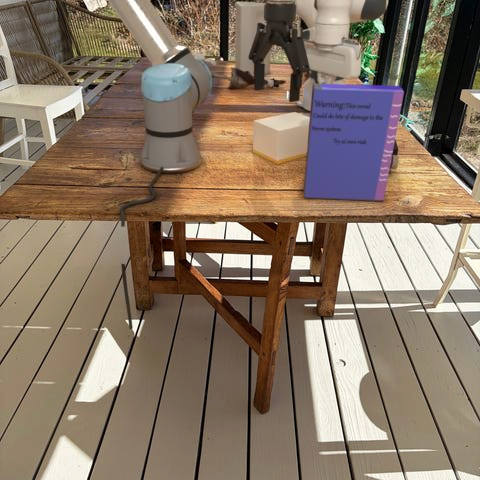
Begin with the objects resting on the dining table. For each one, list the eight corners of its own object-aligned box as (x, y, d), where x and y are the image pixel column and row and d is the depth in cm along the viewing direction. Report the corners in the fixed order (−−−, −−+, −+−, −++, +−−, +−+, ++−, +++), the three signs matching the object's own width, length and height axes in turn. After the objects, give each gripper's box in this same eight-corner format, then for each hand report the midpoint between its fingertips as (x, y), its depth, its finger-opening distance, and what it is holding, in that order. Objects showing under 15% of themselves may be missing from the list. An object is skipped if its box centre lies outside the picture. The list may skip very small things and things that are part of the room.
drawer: (316, 133, 142) (318, 110, 138) (338, 142, 136) (341, 118, 132) (266, 146, 132) (267, 121, 129) (288, 156, 126) (290, 130, 122)
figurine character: (396, 183, 117) (389, 155, 129) (402, 156, 112) (395, 129, 124) (368, 182, 118) (364, 154, 129) (373, 154, 113) (368, 127, 125)
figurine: (210, 87, 179) (288, 95, 182) (212, 65, 176) (291, 73, 180) (208, 84, 201) (278, 91, 205) (210, 64, 198) (280, 71, 202)
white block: (273, 76, 210) (276, 6, 196) (239, 77, 209) (240, 6, 194) (266, 67, 226) (268, 2, 212) (235, 67, 225) (235, 1, 210)
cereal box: (379, 191, 109) (398, 84, 97) (383, 201, 105) (404, 90, 93) (303, 188, 110) (312, 82, 98) (304, 197, 106) (314, 88, 94)
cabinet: (292, 142, 138) (294, 111, 134) (317, 152, 131) (320, 121, 127) (252, 152, 131) (253, 120, 126) (277, 163, 124) (278, 130, 119)
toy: (171, 74, 211) (170, 58, 208) (148, 64, 229) (146, 49, 225) (218, 68, 223) (218, 53, 219) (192, 59, 240) (192, 44, 237)
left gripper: (331, 6, 104) (321, 103, 115) (259, -3, 121) (256, 83, 132) (306, 7, 100) (298, 108, 111) (235, -1, 117) (234, 87, 128)
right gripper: (370, 39, 117) (362, 96, 124) (312, 29, 131) (308, 81, 138) (353, 41, 114) (345, 100, 121) (295, 31, 128) (292, 84, 135)
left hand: (275, 95), depth 121 cm, fingers open, 13 cm apart
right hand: (325, 89), depth 130 cm, fingers closed
